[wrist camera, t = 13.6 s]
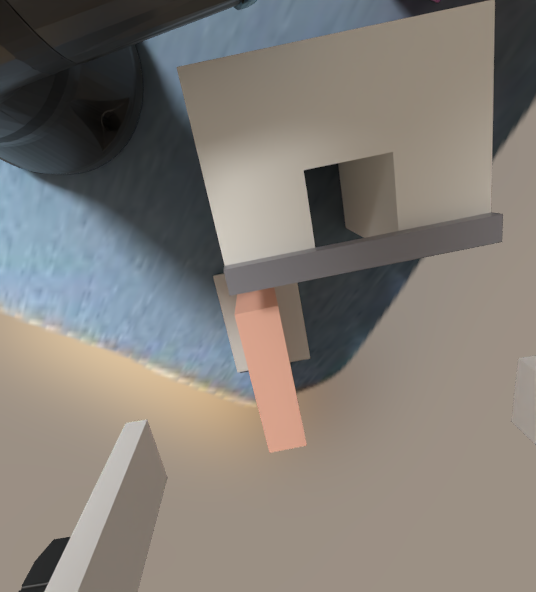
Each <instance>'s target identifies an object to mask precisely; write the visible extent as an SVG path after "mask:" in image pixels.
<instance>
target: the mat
mask: <svg viewBox="0 0 536 592" xmlns="http://www.w3.org/2000/svg"><path fill="white" fill-rule="evenodd" d="M213 278H214V282H215V286H216V290H217V294H218V298H219V302H220V305H221V309H222V313H223V317H224V321H225V325H226V329H227V333H228V337H229V341H230V344H231V348H232V352H233V356H234V360H235V364H236V368H237V372H243V371H248V366H247V362H246V358H245V354H244V350H243V346H242V343H241V339H240V335H239V331H238V327H237V323H236V319H235V315H234V314H235V307H236V299H237V295H232V296H230V295H229V291H228V287H227V283H226V279H225V275H224V273H221V274H216V275H213ZM274 288H275V293H276V298H277V302H278V307H279V312H280V317H281V322H282V326H283V331H284V336H285V341H286V346H287V351H288V355H289V360H290V362H294V361H300V360H305V359H310V352H309V347H308V341H307V335H306V329H305V324H304V318H303V312H302V306H301V301H300V295H299V289H298V283H293V284H288V285H283V286H278V287H274Z"/></svg>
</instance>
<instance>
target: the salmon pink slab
mask: <svg viewBox="0 0 536 592" xmlns="http://www.w3.org/2000/svg"><path fill="white" fill-rule="evenodd" d="M234 315H235V319H236V323H237V327H238V331H239V335H240V339H241V343H242V346H243V350H244V354H245V358H246V362H247V366H248V370H249V374H250V378H251V382H252V386H253V390H254V394H255V398H256V402H257V405H258V409H259V413H260V417H261V421H262V425H263V429H264V433H265V437H266V441H267V444H268V448H269V452H270V453H271V452H276V451H281V450H286V449H291V448H296V447H302V446H306V445H307V444H306V439H305V434H304V429H303V424H302V419H301V414H300V410H299V404H298V400H297V394H296V389H295V385H294V380H293V375H292V370H291V365H290V360H289V355H288V351H287V346H286V341H285V336H284V331H283V326H282V322H281V317H280V312H279V307H278V302H277V298H276V293H275V288H274V287H273V288H267V289H262V290H257V291H252V292H247V293H242V294H237V299H236V307H235V314H234Z"/></svg>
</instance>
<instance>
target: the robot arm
mask: <svg viewBox="0 0 536 592" xmlns="http://www.w3.org/2000/svg"><path fill="white" fill-rule="evenodd" d="M256 1H257V0H0V159H1V160H3V161H5V162H7V163H9V164H11V165H14V166H16V167H19V168H22V169H26V170H29V171H33V172H38V173H44V174H77V173H83V172H87V171H90V170H93V169H96V168H98V167H100V166H102V165H104V164H105V163H107V162H108V161H110V160H111V159H112V158H114V157H115V156H116V155H117V154H118V153H119V152H120V151H121V150H122V149H123V148H124V146H125V145H126V144H127V142H128V141H129V139H130V138H131V136H132V134H133V132H134V130H135V128H136V125H137V123H138V120H139V116H140V112H141V107H142V100H143V78H142V70H141V64H140V60H139V56H138V52H137V49H136V46H135V44H137V43H139V42H142V41H145V40H147V39H150V38H152V37H155V36H158V35H160V34H163V33H166V32H168V31H171V30H173V29H176V28H179V27H181V26H184V25H187V24H189V23H192V22H195V21H197V20H200V19H202V18H205V17H208V16H210V15H213V14H216V13H218V12H221V11H224V10H226V9H229V8H231V7H234V8H236V9H237V10H240V9H244V8H247V7H249V6H251V5H252V4H254V3H255V2H256ZM511 422H512V423H514V424H515V425H516V426H517V427H518V428H519V429H520V430H521V431H522V432H523V433H524V434H525V435H526V436H527V437H528V438H529V439H530V440H531V441H532V442H533V443H534V444H535V445H536V355H535V356H529V357H523V358H518V367H517V375H516V384H515V393H514V402H513V410H512V419H511ZM166 481H167V475H166V472H165V469H164V466H163V464H162V460H161V458H160V455H159V452H158V449H157V446H156V443H155V440H154V438H153V435H152V432H151V429H150V426H149V424H148V420H142V421H135V422H130V423H125V425H124V428H123V430H122V432H121V434H120V436H119V438H118V440H117V442H116V444H115V446H114V448H113V451H112V452H111V455H110V457H109V459H108V461H107V463H106V465H105V467H104V469H103V471H102V473H101V475H100V477H99V480H98V482H97V484H96V486H95V488H94V490H93V492H92V494H91V496H90V498H89V500H88V502H87V504H86V506H85V509H84V511H83V513H82V515H81V517H80V519H79V521H78V523H77V525H76V527H75V529H74V531H73V533H72V535H71V537H66V538H60V539H54V540H53V541H52V542H51V543H50V544H49V546H48V547H47V548H46V549H45V550H44V552H43V553H42V554H41V555H40V556H39V557H38V559H37V560H36V561H35V562H34V564H33V566H32V568H31V570H30V571H29V573H28V575H27V577H26V579H25V581H24V583H23V584H22V589H21V591H19V592H138V588H139V584H140V580H141V577H142V573H143V569H144V565H145V561H146V557H147V554H148V550H149V546H150V542H151V539H152V534H153V531H154V527H155V523H156V519H157V516H158V512H159V508H160V504H161V500H162V497H163V493H164V489H165V485H166Z"/></svg>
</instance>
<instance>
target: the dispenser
mask: <svg viewBox="0 0 536 592" xmlns="http://www.w3.org/2000/svg"><path fill="white" fill-rule="evenodd" d="M494 28H495V0H488V1H484V2H479V3H474V4H470V5H465V6H460V7H456V8H451V9H446V10H442V11H437V12H432V13H428V14H423V15H418V16H414V17H409V18H404V19H400V20H395V21H390V22H386V23H381V24H376V25H372V26H367V27H362V28H357V29H353V30H348V31H343V32H339V33H334V34H329V35H325V36H320V37H315V38H311V39H306V40H301V41H297V42H292V43H287V44H283V45H278V46H273V47H269V48H264V49H259V50H255V51H250V52H245V53H241V54H236V55H231V56H227V57H222V58H217V59H213V60H208V61H203V62H199V63H194V64H189V65H185V66H180V67H177V71H178V75H179V79H180V83H181V87H182V91H183V95H184V100H185V104H186V108H187V112H188V116H189V120H190V124H191V129H192V133H193V137H194V141H195V145H196V149H197V153H198V157H199V162H200V166H201V170H202V174H203V178H204V182H205V186H206V191H207V195H208V199H209V203H210V207H211V211H212V215H213V219H214V224H215V228H216V232H217V236H218V240H219V244H220V248H221V253H222V257H223V261H224V265H225V266H224V275H225V279H226V283H227V287H228V291H229V295H230V296H232V295H237V294H242V293H247V292H252V291H257V290H262V289H267V288H273V287H278V286H283V285H288V284H293V283H298V282H303V281H308V280H313V279H318V278H323V277H328V276H333V275H338V274H343V273H348V272H353V271H358V270H363V269H368V268H373V267H378V266H383V265H388V264H394V263H399V262H404V261H409V260H414V259H419V258H424V257H429V256H434V255H439V254H444V253H449V252H453V251H459V250H464V249H469V248H474V247H479V246H484V245H489V244H494V243H499V242H502V226H503V214H499V213H492V212H491V197H492V193H491V192H492V141H493V85H494ZM336 163H338V167H339V176H340V184H341V192H342V201H343V209H344V218H345V226H346V228H347V229H349V230H351V231H352V232H354V233H356V234H358V235H360V236H362V237H364V238H361V239H356V240H351V241H346V242H341V243H336V244H331V245H326V246H321V247H316V248H315V242H314V236H313V229H312V222H311V216H310V209H309V203H308V196H307V189H306V183H305V176H304V170H307V169H312V168H317V167H322V166H327V165H332V164H336Z"/></svg>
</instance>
